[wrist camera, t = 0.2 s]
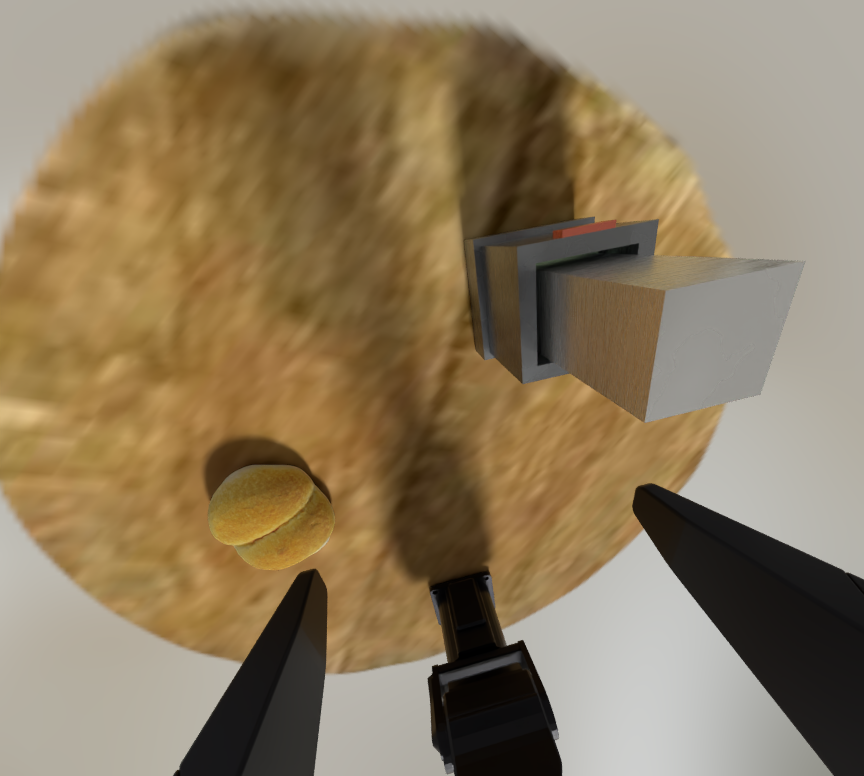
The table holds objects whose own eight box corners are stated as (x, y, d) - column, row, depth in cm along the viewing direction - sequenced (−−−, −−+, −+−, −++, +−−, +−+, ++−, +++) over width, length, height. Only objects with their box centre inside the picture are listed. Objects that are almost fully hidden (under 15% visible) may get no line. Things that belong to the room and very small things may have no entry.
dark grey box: (571, 329, 23) (645, 362, 16) (476, 350, 22) (515, 392, 16) (574, 219, 19) (668, 207, 13) (463, 240, 19) (507, 237, 13)
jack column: (570, 321, 20) (762, 396, 10) (507, 334, 20) (641, 426, 10) (571, 249, 18) (810, 256, 8) (502, 263, 18) (663, 287, 8)
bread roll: (286, 440, 23) (269, 477, 19) (350, 515, 27) (347, 556, 23) (189, 489, 23) (155, 533, 20) (267, 555, 27) (251, 602, 24)
